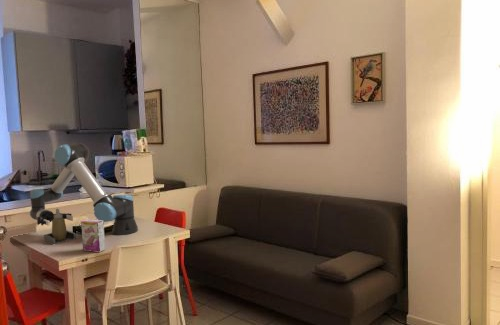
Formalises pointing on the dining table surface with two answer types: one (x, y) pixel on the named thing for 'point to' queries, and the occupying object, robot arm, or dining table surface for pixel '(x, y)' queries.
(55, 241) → the dark grey tray
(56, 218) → the squeeze bottle
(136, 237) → the dining table surface
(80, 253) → the dining table surface
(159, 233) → the dining table surface
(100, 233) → the candy bar box
